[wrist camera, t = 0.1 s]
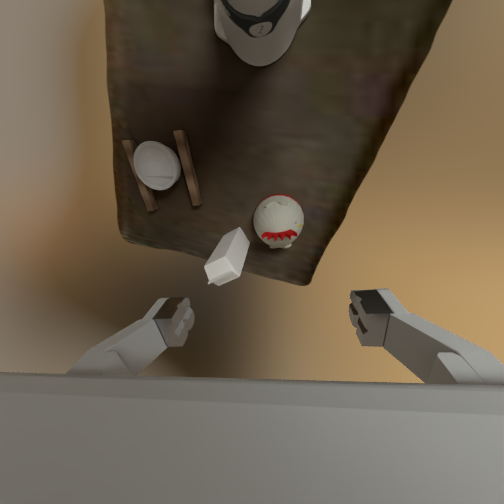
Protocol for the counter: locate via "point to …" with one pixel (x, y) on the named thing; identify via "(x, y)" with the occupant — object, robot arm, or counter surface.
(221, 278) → the milk
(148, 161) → the ramekin
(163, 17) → the counter surface
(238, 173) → the counter surface
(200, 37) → the counter surface
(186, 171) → the parallel wooden rails
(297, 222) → the kitchen timer
